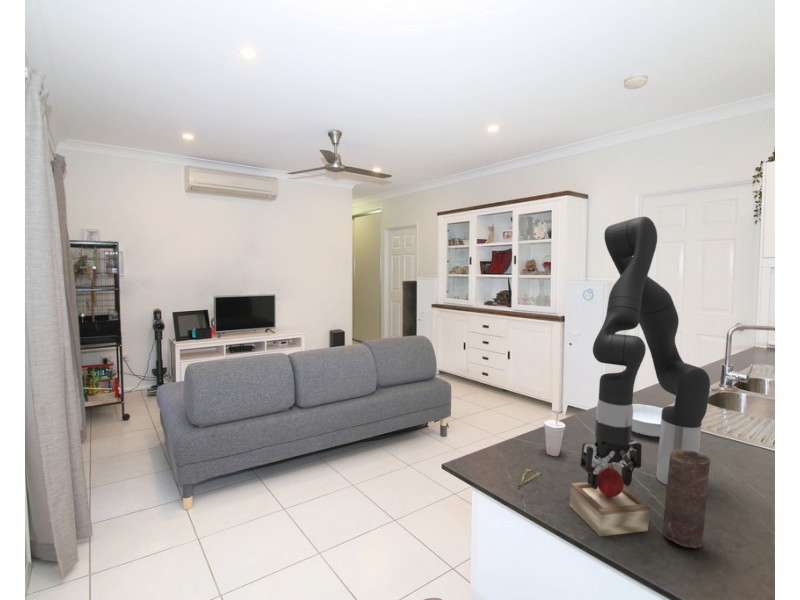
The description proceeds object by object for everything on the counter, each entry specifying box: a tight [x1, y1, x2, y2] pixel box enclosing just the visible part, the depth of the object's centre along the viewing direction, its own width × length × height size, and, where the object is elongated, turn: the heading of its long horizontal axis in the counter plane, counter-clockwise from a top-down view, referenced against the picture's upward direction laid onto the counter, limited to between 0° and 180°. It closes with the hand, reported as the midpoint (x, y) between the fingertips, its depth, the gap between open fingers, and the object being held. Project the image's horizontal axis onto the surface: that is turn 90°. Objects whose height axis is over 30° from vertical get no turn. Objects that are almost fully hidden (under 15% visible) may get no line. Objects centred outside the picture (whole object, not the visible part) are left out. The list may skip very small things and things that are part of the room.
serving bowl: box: [632, 403, 664, 438], centre depth 154 cm, size 21×21×7 cm
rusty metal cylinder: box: [662, 449, 711, 549], centre depth 93 cm, size 8×7×20 cm
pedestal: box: [569, 481, 651, 537], centre depth 102 cm, size 12×12×6 cm
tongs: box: [515, 468, 542, 491], centre depth 119 cm, size 4×13×2 cm, turn 147°
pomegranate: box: [597, 463, 625, 498], centre depth 102 cm, size 6×6×8 cm
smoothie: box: [543, 410, 566, 457], centre depth 135 cm, size 6×6×14 cm
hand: (609, 485), depth 102 cm, fingers open, 8 cm apart
